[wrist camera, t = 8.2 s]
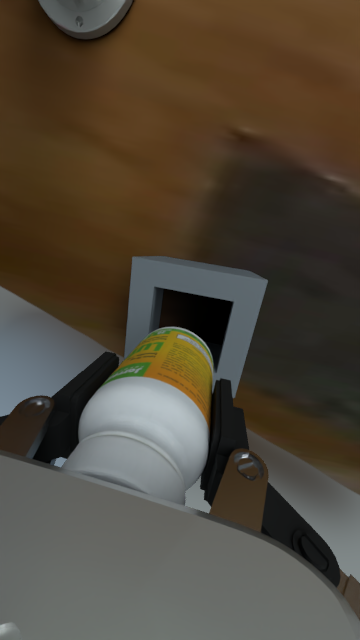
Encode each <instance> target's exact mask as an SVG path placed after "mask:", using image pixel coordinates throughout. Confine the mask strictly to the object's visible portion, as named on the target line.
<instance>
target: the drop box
mask: <svg viewBox="0 0 360 640" xmlns="http://www.w3.org/2000/svg"><path fill="white" fill-rule="evenodd" d="M267 282H268V280H266V279H264V278H262V277H260V276H258V275H256V274H255V273H253V272H251V271H247V270H241V269H235V268H229V267H223V266H217V265H212V264H206V263H200V262H194V261H188V260H182V259H177V258H171V257H165V256H147V257H133V259H132V271H131V283H130V295H129V307H128V319H127V331H126V343H125V355H124V360H125V359H126V358H127V357H128V356H129V354H130V353H131V352H132V351H133V350H134V349H135V348H136V347H137V346H138V344H139V343H140V342H141V341H142V340H143V339H144V338H145V337H146V336H147V335H149V334H150V333H151V332H153V331H155V330H157V329H159V322H160V314H161V307H162V299H163V292H164V288H165V289H170V290H175V291H180V292H186V293H191V294H196V295H202V296H207V297H212V298H217V299H223V300H228V301H233V303H232V307H231V311H230V316H229V320H228V324H227V328H226V332H225V336H224V340H223V345H219V344H214V343H209V342H205V341H204V342H205V344H206V345H207V347H208V348H209V350H210V352H211V355H212V359H213V386H212V393H213V390H214V386H215V382H216V380H219V381H220V378H223V379H227V380H231V387H232V397H233V398H235V394H236V391H237V387H238V384H239V380H240V377H241V373H242V370H243V366H244V363H245V359H246V356H247V352H248V349H249V345H250V342H251V338H252V335H253V331H254V327H255V324H256V320H257V317H258V313H259V310H260V306H261V303H262V299H263V296H264V292H265V289H266V285H267Z"/></svg>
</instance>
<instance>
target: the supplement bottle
mask: <svg viewBox="0 0 360 640" xmlns="http://www.w3.org/2000/svg"><path fill="white" fill-rule="evenodd" d="M212 386H213V359H212V355H211V352H210V350H209V348H208V347H207V345H206V344H205V342H204V341H203V340H202V339H201V338H200V337H198V336H197V335H196V334H194V333H193V332H191V331H189V330H186V329H183V328H179V327H164V328H160V329H157V330H155V331H153V332H151V333H150V334H149V335H147V336H146V337H145V338H144V339H143V340H142V341H141V342H140V343H139V344H138V346H137V347H136V348H135V349H134V350H133V351H132V352H131V353H130V354H129V356H128V357H127V358H126V359H125V360H124V361H123V362H122V363H121V364H120V366H119V367H118V368H117V369H116V370H115V371H114V372H113V373H112V374H111V376H110V377H109V378H108V379H107V380H106V381H105V382H104V383H103V385H102V386H101V387H100V388H99V389H98V390H97V391H96V392H95V394H94V395H93V396H92V398H91V399H90V400H89V401H88V403H87V404H86V406H85V408H84V410H83V412H82V414H81V417H80V421H79V428H78V438H79V444H78V445H77V447H76V448H75V450H74V451H73V452H72V453H71V455H70V456H69V457H68V459H67V460H66V461H65V463H64V464H63V466H62V467H61V468H64V469H67V470H71V471H74V472H77V473H80V474H84V475H87V476H90V477H93V478H97V479H100V480H103V481H107V482H110V483H113V484H116V485H120V486H123V487H126V488H129V489H133V490H136V491H139V492H142V493H145V494H149V495H152V496H155V497H158V498H161V499H165V500H168V501H171V502H174V503H177V504H181V505H184V506H185V491H186V490H187V489H189V488H190V487H191V486H192V485H193V484H194V483H195V482H196V481H197V480H198V479H199V477H200V476H201V474H202V472H203V470H204V468H205V466H206V463H207V459H208V454H209V445H210V431H211V409H212Z"/></svg>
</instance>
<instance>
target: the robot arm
mask: <svg viewBox="0 0 360 640" xmlns="http://www.w3.org/2000/svg"><path fill="white" fill-rule="evenodd" d="M38 1H39V3H40V5H41V7H42V8H43V9H44V11H45V12H46V14H47V15H48V17H49V18H50V19H51V20H52V22H53V23H54V24H55V25H56V26H57V27H58V28H59V29H60V30H62V31H63V32H65V33H66V34H67V35H70V36H72V37H75V38H78V39H93V38H97V37H100V36H102V35H104V34H106V33H108V32H109V31H110V30H112V29H113V28H114V27H115V26H116V25H117V24H118V23H119V22H120V21H121V19H122V18H123V17H124V16H125V14H126V12H127V11H128V9H129V7H130V6H131V4H132V1H133V0H38ZM118 364H119V357H117V356H116V354H115V353H110V352H105V353H103V354H102V355H101V356H100V357H99V358H98V359H96V360H95V361H94V362H93V363H92V364H91V365H89V366H88V367H87V368H86V369H85V370H84V371H82V372H81V373H79V374H78V375H77V376H76V377H75V378H74V379H72V380H71V381H70V382H69V383H68V384H67V385H66V386H64V387H63V388H62V389H61V390H59V391H58V392H57V393H56V394H55V395H54V396H52V397H51V398H50V397H48V396H34V397H30V398H28V399H25V400H23V401H22V402H20V403H19V404H18V405H17V406H16V407H15V408H14V410H13V411H12V412H11V413H10V414H9V415H6V416H2V417H0V640H360V583H359V582H358V581H357V580H356V579H355V578H354V577H353V576H352V575H351V574H350V576H349V577H348V576H347V575H345V573H344V572H342V570H341V569H340V568H339V565H338V563H337V560H336V557H335V556H334V554H333V552H332V550H331V549H330V547H329V546H328V545H327V543H326V542H325V541H324V540H323V539H322V538H321V536H319V535H318V533H316V531H315V530H314V529H313V528H312V527H311V526H310V525H309V524H308V523H307V522H306V521H305V520H304V519H303V518H302V517H301V516H300V515H299V514H298V513H297V512H296V510H294V508H293V507H292V506H291V505H290V504H289V503H288V502H287V501H286V500H285V499H284V498H283V497H282V496H281V495H280V494H279V493H278V492H277V491H276V490H275V489H274V488H273V487H272V486H271V485H270V483H268V469H267V467H266V464H265V463H264V461H263V460H262V459H261V458H260V457H259V456H258V455H257V454H255V453H254V452H252V451H249V446H248V439H247V433H246V426H245V420H244V413H243V409H241V408H237V407H233V398H232V387H231V380H227V379H223V378H220V381H219V380H216V382H215V386H214V390H213V394H212V409H211V431H210V445H209V454H208V459H207V463H206V466H205V468H204V470H203V472H202V474H201V485H200V489H202V490H205V493H204V500H206V501H208V503H209V504H210V506H211V510H210V513H209V514H208V513H205V512H202V511H199V510H196V509H193V508H190V507H187V506H184V505H181V504H177V503H174V502H171V501H168V500H165V499H161V498H158V497H155V496H152V495H149V494H145V493H142V492H139V491H136V490H133V489H129V488H126V487H123V486H120V485H116V484H113V483H110V482H107V481H103V480H100V479H97V478H93V477H90V476H87V475H84V474H80V473H77V472H74V471H71V470H67V469H64V468H60V467H57V466H54V464H55V461H56V458H59V457H63V458H66V459H68V457H69V456H70V455H71V453H72V452H73V451H74V450H75V448H76V447H77V445H78V444H79V438H78V428H79V421H80V417H81V414H82V412H83V410H84V408H85V406H86V404H87V403H88V401H89V400H90V399H91V398H92V396H93V395H94V394H95V392H96V391H97V390H98V389H99V388H100V387H101V386H102V385H103V383H104V382H105V381H106V380H107V379H108V378H109V377H110V376H111V374H112V373H113V372H114V371H115V370H116V369H117V368H118Z"/></svg>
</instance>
